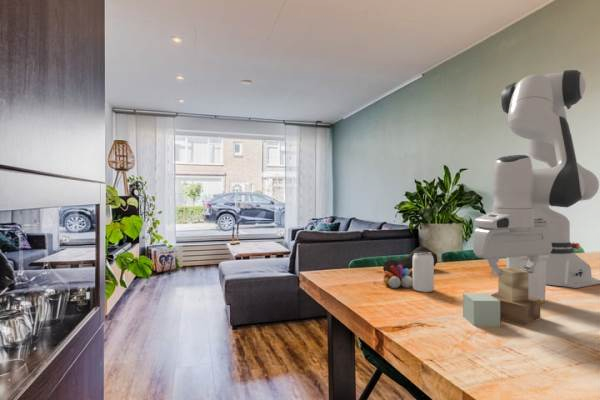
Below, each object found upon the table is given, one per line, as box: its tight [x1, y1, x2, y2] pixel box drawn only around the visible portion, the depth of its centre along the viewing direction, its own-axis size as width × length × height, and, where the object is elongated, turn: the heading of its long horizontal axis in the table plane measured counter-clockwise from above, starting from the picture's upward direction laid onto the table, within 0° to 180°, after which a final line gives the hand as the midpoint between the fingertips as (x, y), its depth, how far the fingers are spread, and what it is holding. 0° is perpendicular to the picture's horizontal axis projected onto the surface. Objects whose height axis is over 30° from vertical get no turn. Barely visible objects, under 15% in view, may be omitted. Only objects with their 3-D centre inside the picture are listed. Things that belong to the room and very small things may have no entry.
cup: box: [505, 255, 549, 305], centre depth 97 cm, size 11×11×17 cm
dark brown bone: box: [382, 246, 438, 274], centre depth 132 cm, size 11×10×28 cm
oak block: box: [497, 267, 529, 301], centre depth 83 cm, size 4×4×7 cm
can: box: [412, 252, 435, 293], centre depth 107 cm, size 6×6×12 cm
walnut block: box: [490, 291, 541, 327], centre depth 83 cm, size 9×9×5 cm
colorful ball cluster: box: [383, 265, 413, 289], centre depth 112 cm, size 8×10×7 cm
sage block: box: [462, 292, 501, 327], centre depth 80 cm, size 6×6×6 cm
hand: (513, 273), depth 83 cm, fingers open, 8 cm apart
